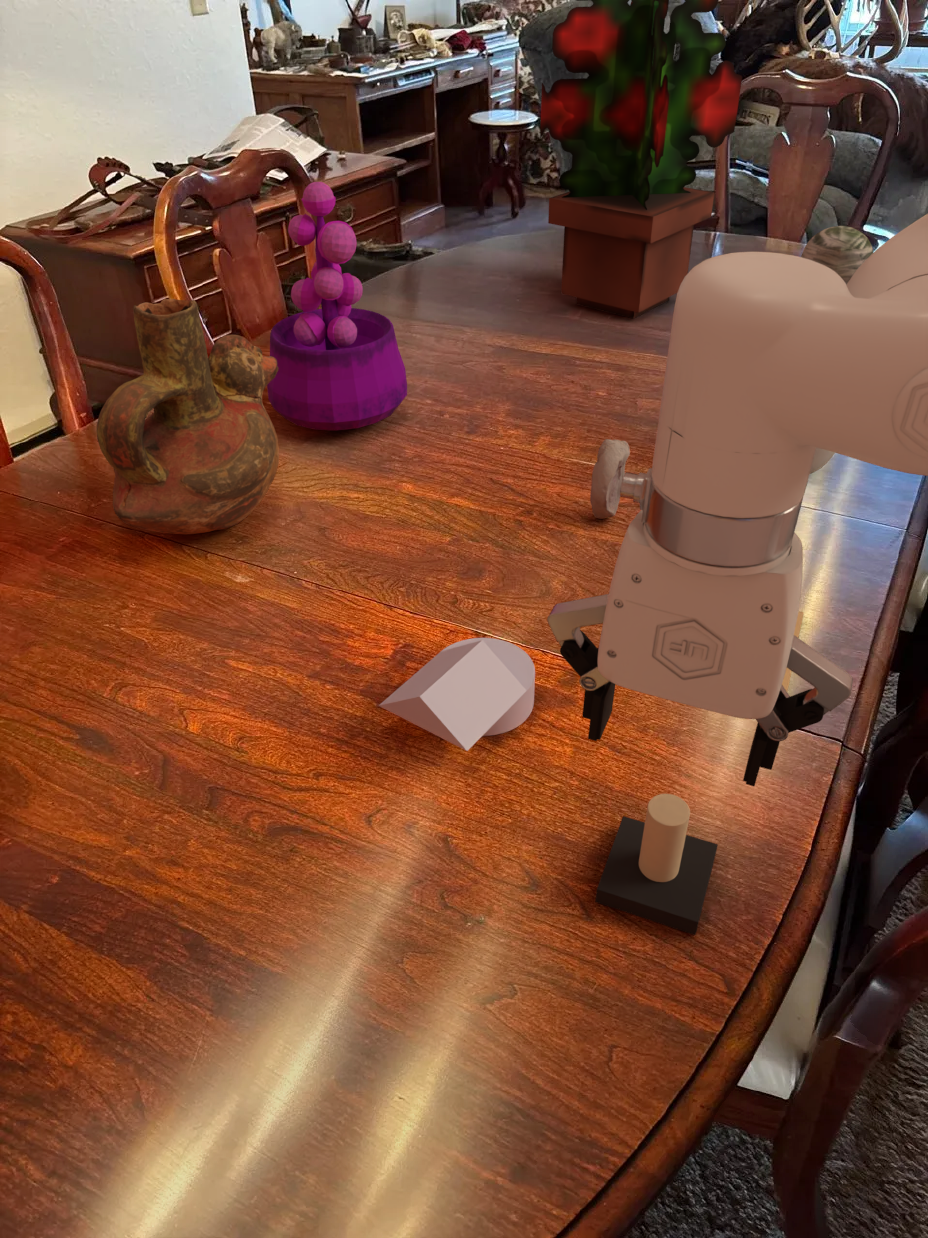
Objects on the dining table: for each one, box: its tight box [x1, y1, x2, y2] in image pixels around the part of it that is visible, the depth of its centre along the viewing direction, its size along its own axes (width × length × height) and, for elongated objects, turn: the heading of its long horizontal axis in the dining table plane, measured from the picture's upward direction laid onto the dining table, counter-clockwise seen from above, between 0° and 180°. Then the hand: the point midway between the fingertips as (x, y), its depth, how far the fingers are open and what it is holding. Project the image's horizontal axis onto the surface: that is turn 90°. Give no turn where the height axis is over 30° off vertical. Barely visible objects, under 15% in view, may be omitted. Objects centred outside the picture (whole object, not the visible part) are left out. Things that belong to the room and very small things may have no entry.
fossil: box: [589, 438, 631, 520], centre depth 102 cm, size 6×4×10 cm, turn 149°
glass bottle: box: [800, 225, 874, 475], centre depth 105 cm, size 10×10×28 cm
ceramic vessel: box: [96, 298, 280, 535], centre depth 99 cm, size 17×26×25 cm, turn 152°
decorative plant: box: [266, 181, 408, 431], centre depth 118 cm, size 19×18×30 cm
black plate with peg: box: [594, 793, 719, 936], centre depth 63 cm, size 7×7×8 cm
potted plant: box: [539, 0, 743, 319], centre depth 149 cm, size 22×22×45 cm
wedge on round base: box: [378, 637, 536, 752], centre depth 78 cm, size 9×7×13 cm
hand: (674, 747), depth 58 cm, fingers open, 9 cm apart
